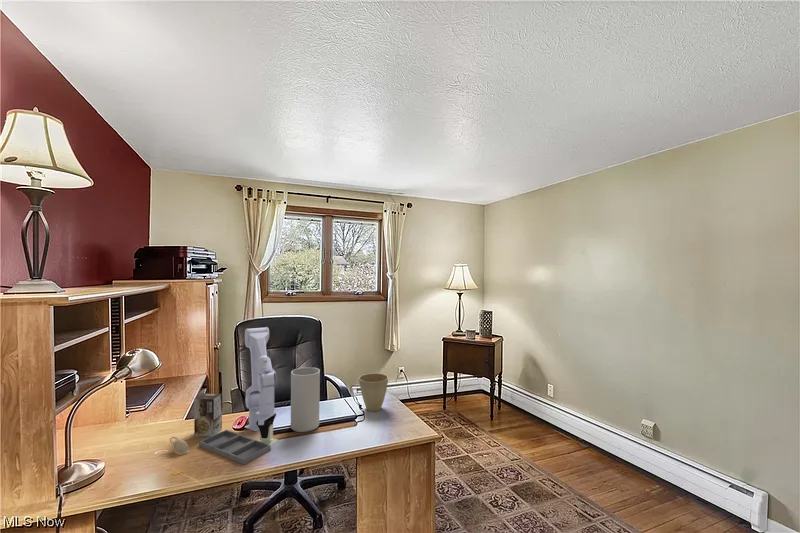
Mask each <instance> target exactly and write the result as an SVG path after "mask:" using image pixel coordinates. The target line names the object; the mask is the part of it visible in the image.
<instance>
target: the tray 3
mask: <svg viewBox="0 0 800 533" xmlns="http://www.w3.org/2000/svg"><path fill="white" fill-rule="evenodd" d="M271 446H272V444H271V445H268V444H265V443H263V442H260V441H258V440H257V439H254V441H252V442H250V443H248V444H246V445H244V446H242V447H240V448H238V449H236V450H234V451H232V452H230V453H228V458H227V459H229V460H231V461H234V462H236V463H239V464H241V465H244V466H245V465H246V464H248V463H250V462H252V461H253V460H255V459H257V458H259V457H261V456H263V455H265V454H267V453H268V452H270V451H271V450H272V447H271Z"/></svg>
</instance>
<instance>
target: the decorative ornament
mask: <svg viewBox="0 0 800 533" xmlns="http://www.w3.org/2000/svg"><path fill="white" fill-rule="evenodd" d="M172 439H175V441H172ZM169 442H170V443H171V444H173V451H172V452H173V454H176V455H180V456H181V455H186V454H189V453H190V452H191V450H190V447H189V446H190V445H188V443H187V442H186V440H183V439H182V438H181V439H180V438H178V437H176V436H171V437H170V438H169Z"/></svg>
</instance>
